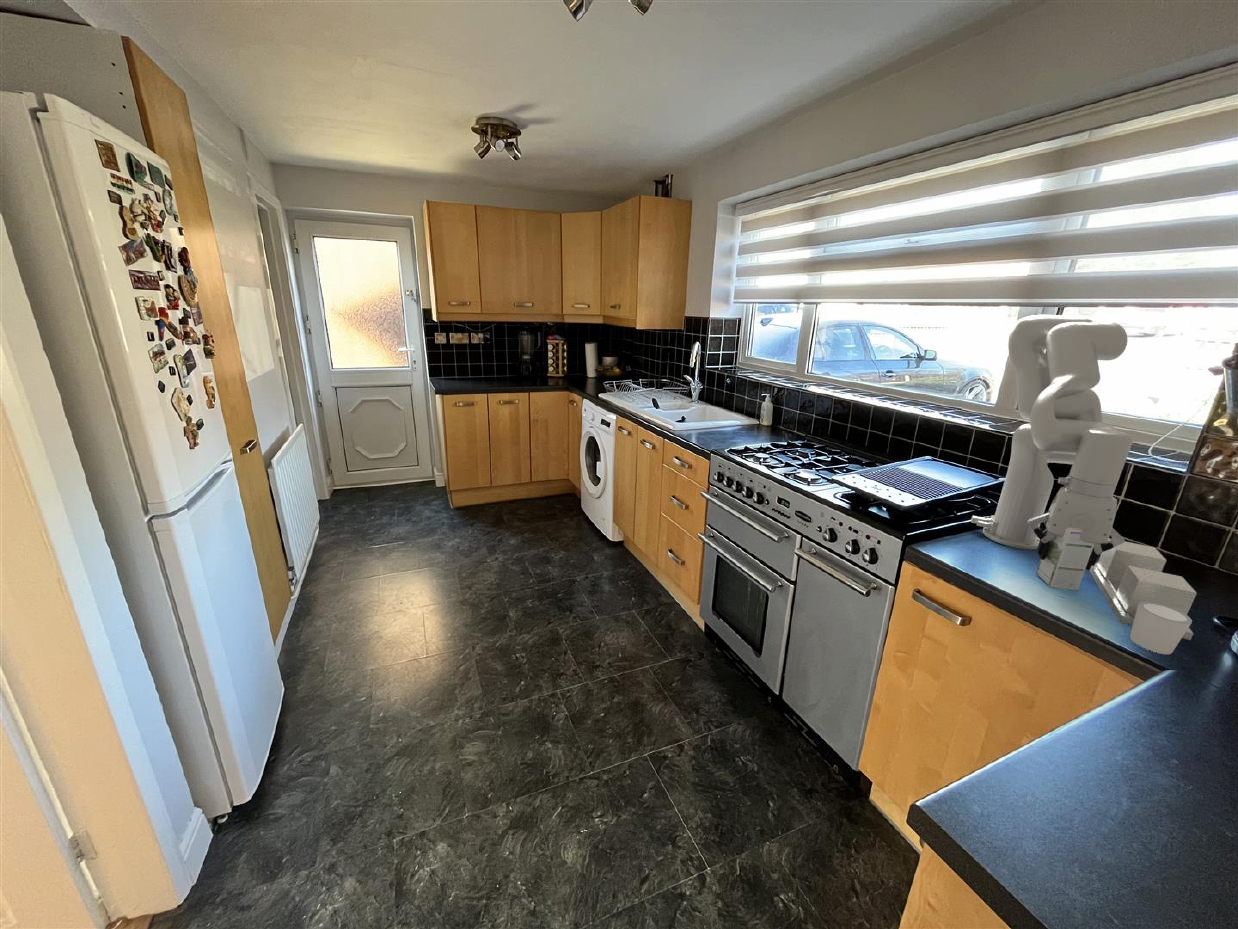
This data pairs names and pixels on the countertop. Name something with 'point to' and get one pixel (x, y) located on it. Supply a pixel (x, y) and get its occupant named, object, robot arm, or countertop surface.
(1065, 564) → the syrup box
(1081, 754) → the countertop surface
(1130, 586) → the board
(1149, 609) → the grey mug
